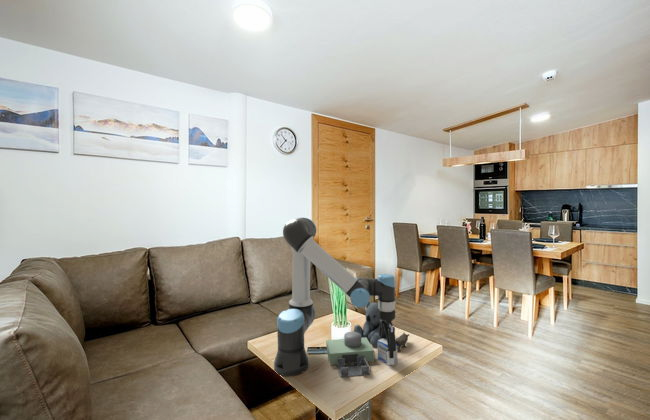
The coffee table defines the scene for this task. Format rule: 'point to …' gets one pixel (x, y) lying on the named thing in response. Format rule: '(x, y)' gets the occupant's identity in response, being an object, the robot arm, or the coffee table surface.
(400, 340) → the rhino figurine
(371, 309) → the koala plush
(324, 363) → the coffee table surface
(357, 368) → the chute bracket
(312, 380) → the coffee table surface
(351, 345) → the sage green box
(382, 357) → the medicine box
